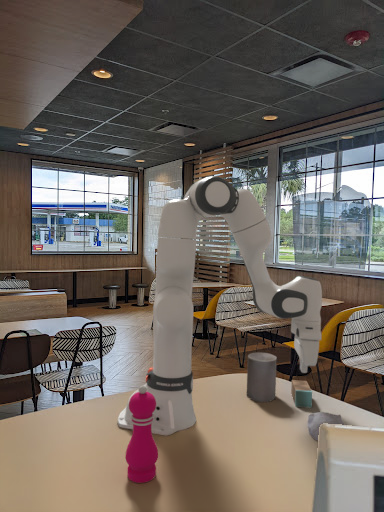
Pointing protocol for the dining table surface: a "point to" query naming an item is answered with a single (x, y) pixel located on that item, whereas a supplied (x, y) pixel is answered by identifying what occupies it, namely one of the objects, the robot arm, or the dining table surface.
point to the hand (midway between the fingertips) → (303, 371)
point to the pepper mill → (142, 438)
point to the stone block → (321, 422)
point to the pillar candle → (261, 377)
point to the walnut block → (301, 393)
